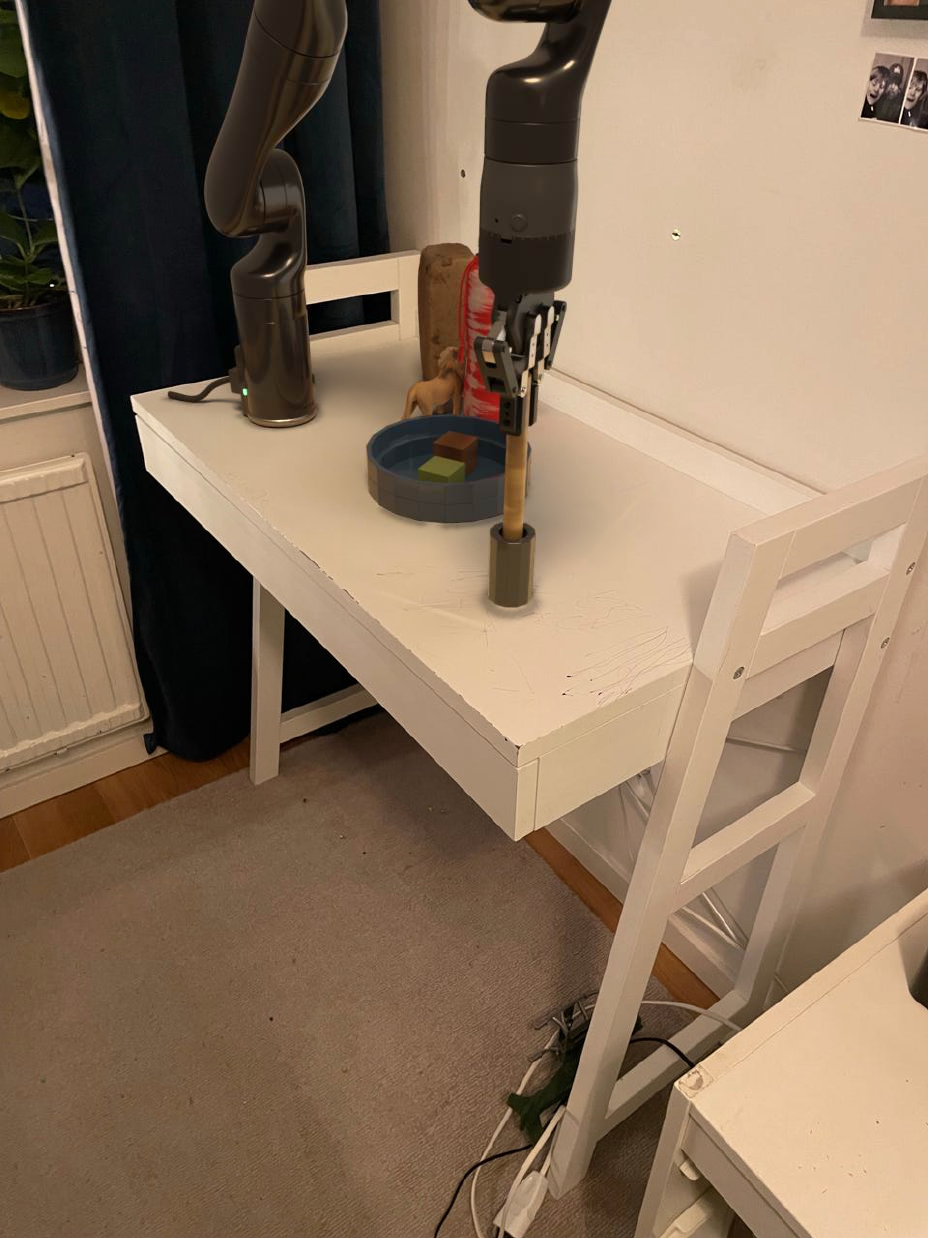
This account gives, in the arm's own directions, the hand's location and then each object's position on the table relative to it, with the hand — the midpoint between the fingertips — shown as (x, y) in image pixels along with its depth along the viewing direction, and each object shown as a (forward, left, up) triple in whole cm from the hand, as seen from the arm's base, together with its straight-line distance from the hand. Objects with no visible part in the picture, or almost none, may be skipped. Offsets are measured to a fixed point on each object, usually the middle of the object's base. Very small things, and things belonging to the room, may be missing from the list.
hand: (517, 427), depth 82 cm
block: (-33, +46, -19) cm, 60 cm away
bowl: (-17, +18, -19) cm, 31 cm away
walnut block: (-18, +21, -18) cm, 33 cm away
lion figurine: (-28, +33, -18) cm, 47 cm away
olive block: (-16, +14, -18) cm, 28 cm away
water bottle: (-20, +38, -19) cm, 47 cm away
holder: (0, 0, -19) cm, 19 cm away
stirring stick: (0, 0, -12) cm, 12 cm away
